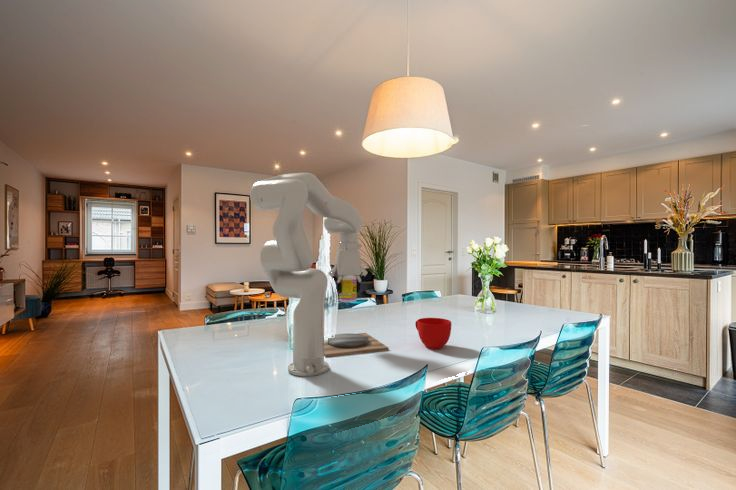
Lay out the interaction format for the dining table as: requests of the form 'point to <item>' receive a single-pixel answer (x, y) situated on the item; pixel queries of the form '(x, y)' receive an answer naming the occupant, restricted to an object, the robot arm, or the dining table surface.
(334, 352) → the mount board
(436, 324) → the ceramic cup
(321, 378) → the dining table surface
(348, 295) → the supplement bottle
